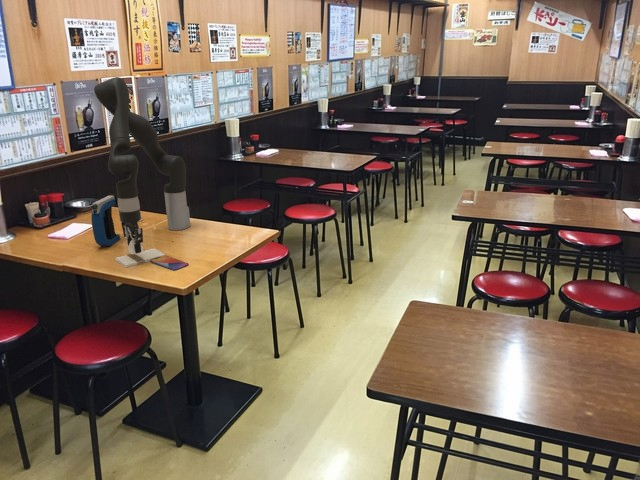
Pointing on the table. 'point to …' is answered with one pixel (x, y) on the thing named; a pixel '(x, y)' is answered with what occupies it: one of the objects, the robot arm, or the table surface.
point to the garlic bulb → (132, 249)
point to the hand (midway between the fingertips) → (134, 250)
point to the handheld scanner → (104, 221)
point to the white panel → (139, 257)
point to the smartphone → (169, 263)
